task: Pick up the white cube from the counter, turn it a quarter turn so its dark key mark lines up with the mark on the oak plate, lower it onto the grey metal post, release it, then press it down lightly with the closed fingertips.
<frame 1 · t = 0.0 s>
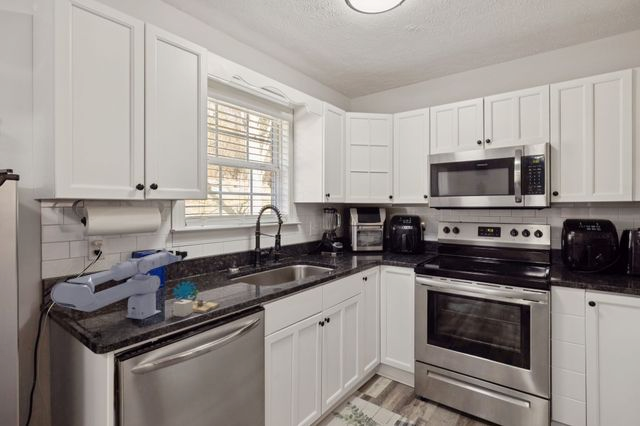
hand: (179, 253, 147), 22 cm above the countertop, tool horizontal, fingers open, 7 cm apart
shaft plate: (200, 307, 138), on the countertop
white cube: (183, 314, 130), on the countertop
gear: (186, 299, 152), on the countertop
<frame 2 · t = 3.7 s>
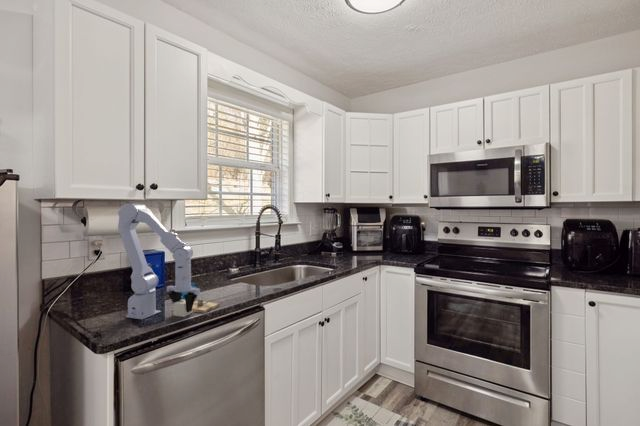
hand: (183, 310, 130), 1 cm above the countertop, tool pointing down, fingers closed on white cube, 5 cm apart
white cube: (183, 314, 130), on the countertop, touching gripper
everything else where it was.
when the fingers open (3 cm above the countertop, at t = 8.1 s): white cube stays where it is, resting on shaft plate.
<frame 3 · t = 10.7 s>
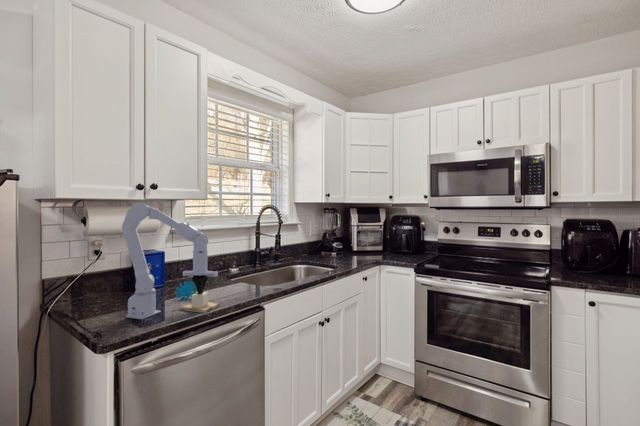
hand: (200, 293, 138), 6 cm above the countertop, tool pointing down, fingers closed
white cube: (200, 305, 138), point 1 cm above the countertop, touching gripper, shaft plate
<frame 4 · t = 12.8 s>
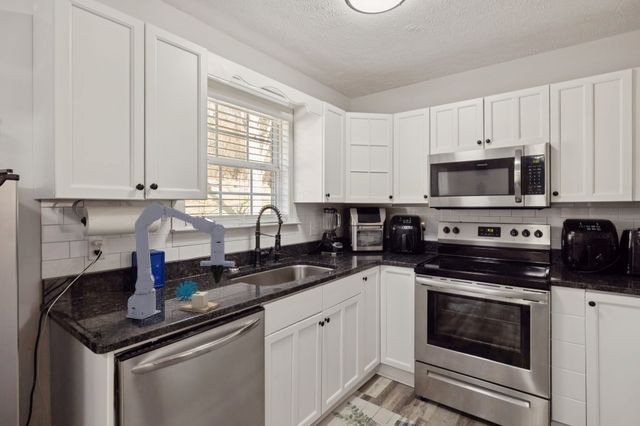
hand: (217, 282, 141), 10 cm above the countertop, tool pointing down, fingers closed
white cube: (200, 305, 138), point 1 cm above the countertop, touching shaft plate
at the end: white cube 0.1 cm off-centre on the shaft plate, point 1.1 cm above the shaft plate's base; white cube tilted 1°; the gripper is holding nothing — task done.
